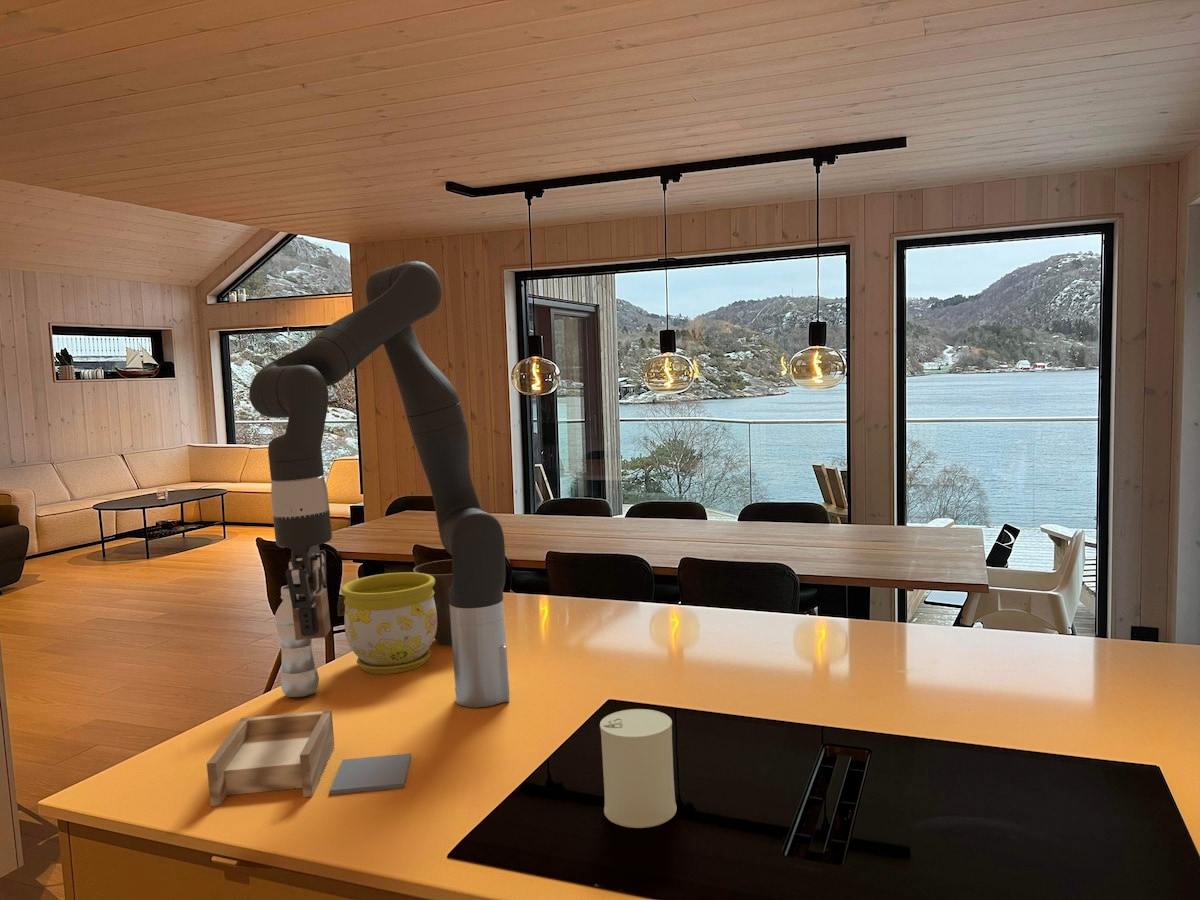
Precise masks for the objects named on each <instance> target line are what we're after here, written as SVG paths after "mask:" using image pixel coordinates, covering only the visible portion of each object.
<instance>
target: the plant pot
mask: <svg viewBox="0 0 1200 900" xmlns="http://www.w3.org/2000/svg"><path fill="white" fill-rule="evenodd" d="M413 573H424V574H428V575H431V576H433V577H434V579H435V585H434V586H433V587H432V588H433V591H434V595H433V596H434V601H435V605H436V611H437V630H436V634H435V637H434V641H435V643H437V644H439V645H443V646H452V635H451V621H450V606H449V588H450V586H451V585H452V582H453V568H452V559H443V560H435V561H431V562H426V563H422V564H419V565H417V566H414V568H413Z"/></svg>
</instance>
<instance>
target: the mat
mask: <svg viewBox="0 0 1200 900" xmlns="http://www.w3.org/2000/svg"><path fill="white" fill-rule="evenodd" d="M411 760H412V752H410V753H409V752H408V753H399V754H391V755H390V754H389V755H387V754H386V755H378V756H377V755H376V756H368V757H367V756H366V757H357V758H346V759H342V760H341V762H340V765H339V767H338V768H337V772H336V775H335V777H334V779H333V782H332V784H331V786H330V788H329V795H341V794H351V793H352V794H353V793H359V792H360V793H361V791H362V792H371V791H381V790H392V789H403V788H405V785H406V780H407V778H408V777H407V776H408V774H409V769H410V765H411V762H412V761H411Z"/></svg>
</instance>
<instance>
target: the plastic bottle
mask: <svg viewBox="0 0 1200 900" xmlns="http://www.w3.org/2000/svg"><path fill="white" fill-rule="evenodd" d="M280 594H281V595H280V599H281V600H282V602H281V603H280V605H279V606H278V608H277V610H276V611H275V615H274V622H275V623H274V624H275V627H276V630H277V635H278V639H279V640H278V641H279V647H280V651H281V652H280V653H281V673H280V674H281V675H280V687H281V691H282V692H283V694H284V695H285V697H286V696H287V697H289V698H302V697H307V696H310V695H312V694H315V693H316V691H317V690H318V688H319V686H320V685H319V684H320V675H319V672H318V669H317V666H316V661H315V656H314V655H315V654H314V650H313V639H304V640H296V639H295V630H294V620H293V611H292V602H291V597H290V592H289V588H288V584H287V585H284V586H282V587H281V588H280Z"/></svg>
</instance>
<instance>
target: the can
mask: <svg viewBox="0 0 1200 900" xmlns="http://www.w3.org/2000/svg"><path fill="white" fill-rule="evenodd" d="M599 729H600V737H601V753H602V772H603V788H604V789H603V791H604V807H603V813H604V816H605V817H606V818H607V820H608V821H610V822H611V823H613V824H615V825H618V826H621V827H625V828H633V829H644V828H645V829H646V828H652V827H657V826H660V825H663V824H664V823H665V824H666V822H668V821H669V820H671V819H672V818H674V816H675V815H676V813H677V803H676V796H675V795H676V794H675V792H676V791H675V780H674V779H675V778H674V777H675V776H674V775H675V773H674V757H673V756H674V755H673V754H674V753H673V720H672V718H671V717H670V716H669V715H667V714H666V713H664V712H661V711H658V710H655V709H645V708H631V709H623V710H619V711H615V712H613V713H610V714H608V715H605V716H604V717H603V718H602V719H601V720H600V723H599Z"/></svg>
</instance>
